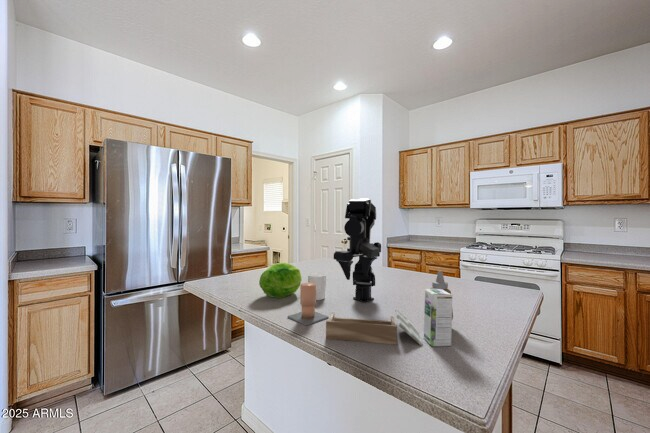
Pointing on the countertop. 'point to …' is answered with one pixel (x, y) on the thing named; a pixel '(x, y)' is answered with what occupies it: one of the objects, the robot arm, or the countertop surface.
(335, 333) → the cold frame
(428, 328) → the syrup box
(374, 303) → the countertop surface
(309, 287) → the peach domed cylinder
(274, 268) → the lettuce
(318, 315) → the slate tile
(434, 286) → the squeeze bottle
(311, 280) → the white cup
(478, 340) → the countertop surface
